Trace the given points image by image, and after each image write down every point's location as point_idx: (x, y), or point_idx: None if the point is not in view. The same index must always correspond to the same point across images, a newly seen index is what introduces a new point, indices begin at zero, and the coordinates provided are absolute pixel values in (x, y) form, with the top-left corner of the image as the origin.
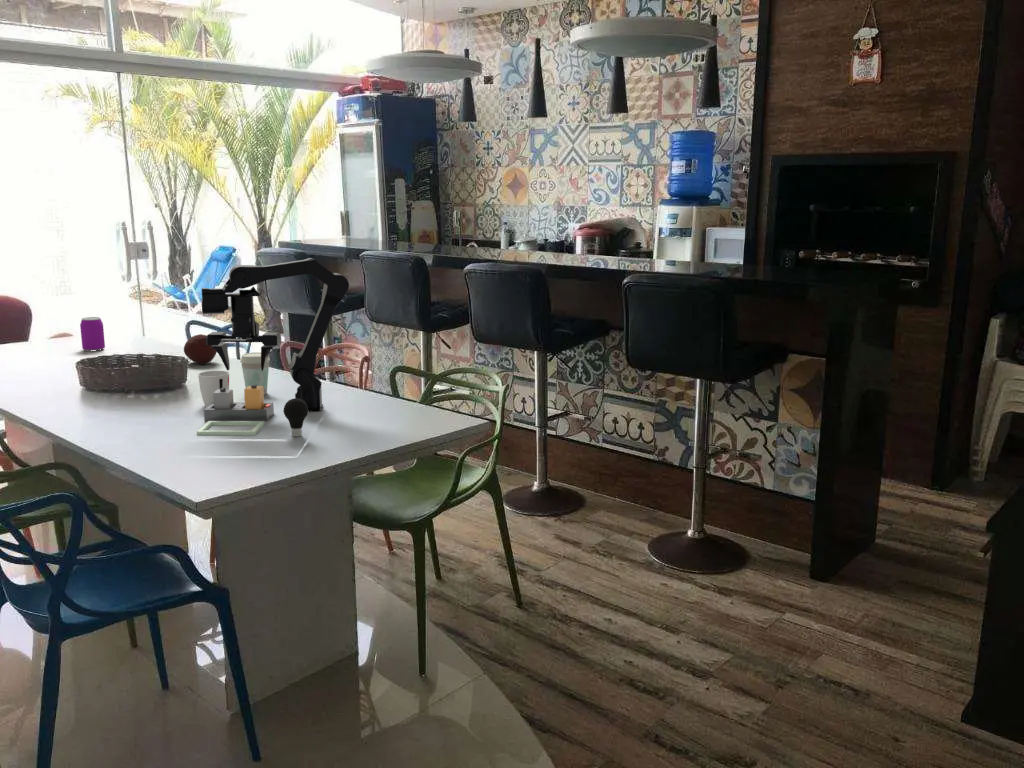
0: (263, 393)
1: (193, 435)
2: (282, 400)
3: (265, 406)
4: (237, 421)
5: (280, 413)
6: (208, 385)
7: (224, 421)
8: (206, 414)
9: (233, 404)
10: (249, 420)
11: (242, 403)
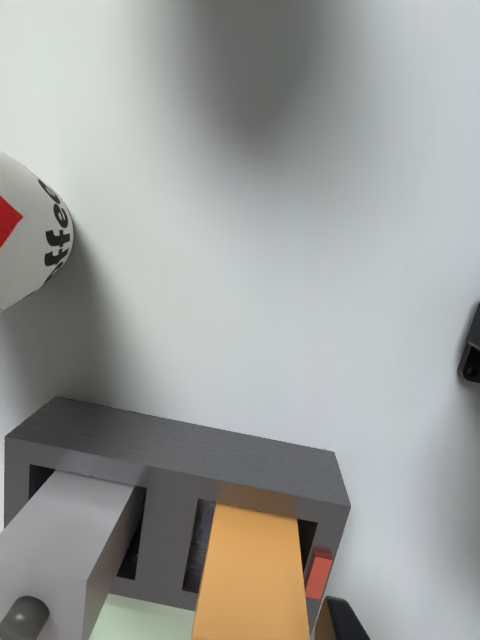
0: (303, 608)
1: None
2: (403, 56)
3: (305, 595)
4: (182, 612)
5: (369, 389)
6: None
7: (128, 601)
8: None
9: (128, 500)
10: None
11: (174, 491)
